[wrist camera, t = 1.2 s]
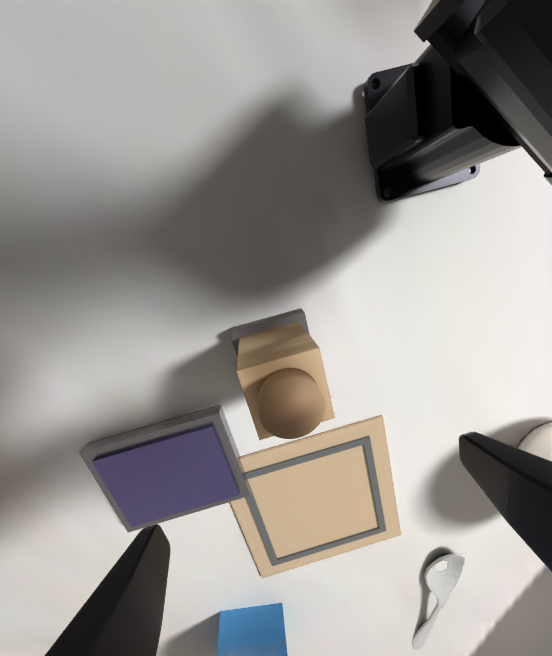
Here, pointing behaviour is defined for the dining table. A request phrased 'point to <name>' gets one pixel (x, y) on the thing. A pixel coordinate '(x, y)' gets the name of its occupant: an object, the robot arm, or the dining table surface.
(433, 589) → the spoon
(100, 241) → the dining table surface
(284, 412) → the stamp
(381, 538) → the print sheet
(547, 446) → the lidded jar
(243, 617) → the perfume bottle
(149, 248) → the dining table surface
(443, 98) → the robot arm
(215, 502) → the ink pad
